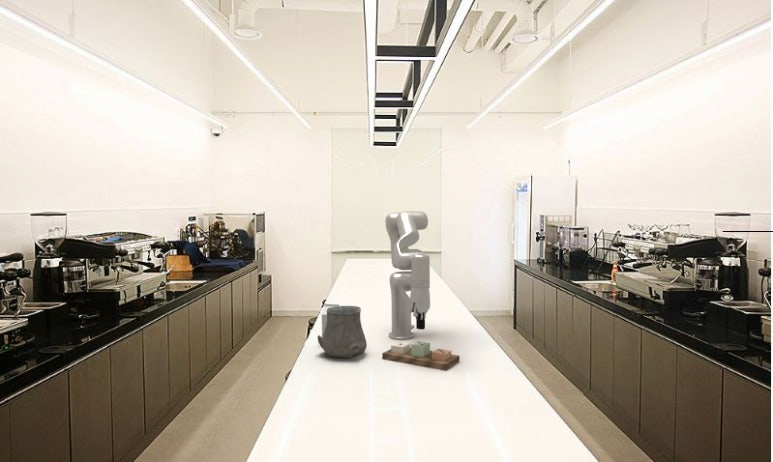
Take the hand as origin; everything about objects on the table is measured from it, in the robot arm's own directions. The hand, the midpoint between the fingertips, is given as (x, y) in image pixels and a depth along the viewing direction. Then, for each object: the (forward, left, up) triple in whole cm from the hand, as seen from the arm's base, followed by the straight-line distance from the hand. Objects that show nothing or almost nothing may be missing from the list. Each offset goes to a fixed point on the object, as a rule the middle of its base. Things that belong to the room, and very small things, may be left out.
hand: (420, 328), depth 207 cm
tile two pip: (0, 0, -11) cm, 11 cm away
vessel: (+10, -31, -14) cm, 35 cm away
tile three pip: (0, +9, -13) cm, 16 cm away
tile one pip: (0, -10, -13) cm, 16 cm away
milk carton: (+1, -45, -14) cm, 47 cm away
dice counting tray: (0, 0, -13) cm, 13 cm away
